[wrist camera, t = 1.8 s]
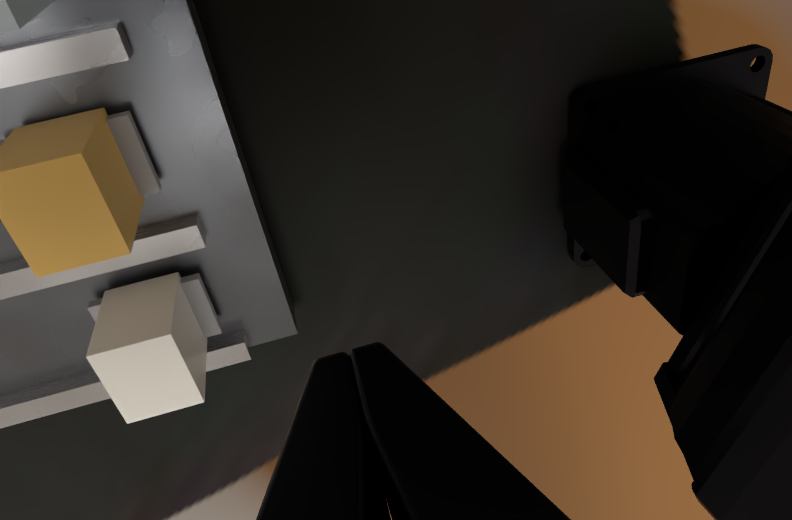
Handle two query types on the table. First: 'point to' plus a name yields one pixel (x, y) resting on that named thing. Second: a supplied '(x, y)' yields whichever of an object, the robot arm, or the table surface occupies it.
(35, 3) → the slider blue
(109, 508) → the table surface
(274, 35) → the table surface
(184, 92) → the panel
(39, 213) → the slider amber
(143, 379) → the slider cream
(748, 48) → the robot arm
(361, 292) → the table surface
